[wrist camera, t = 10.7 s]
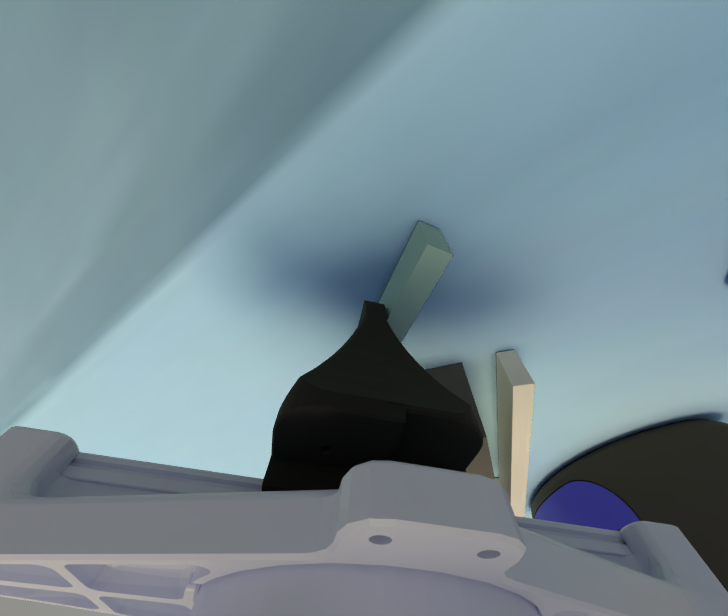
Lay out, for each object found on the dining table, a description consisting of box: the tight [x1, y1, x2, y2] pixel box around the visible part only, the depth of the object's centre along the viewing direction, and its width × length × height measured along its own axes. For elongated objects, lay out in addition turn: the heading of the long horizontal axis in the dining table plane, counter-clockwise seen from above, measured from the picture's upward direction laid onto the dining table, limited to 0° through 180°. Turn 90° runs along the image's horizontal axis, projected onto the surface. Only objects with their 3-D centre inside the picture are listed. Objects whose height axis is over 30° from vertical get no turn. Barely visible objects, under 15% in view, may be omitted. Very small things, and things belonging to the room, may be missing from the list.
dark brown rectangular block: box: [425, 363, 495, 480], centre depth 18 cm, size 4×12×5 cm, turn 20°
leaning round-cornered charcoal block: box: [531, 420, 728, 592], centre depth 17 cm, size 16×5×9 cm, turn 155°
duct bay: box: [495, 350, 535, 517], centre depth 19 cm, size 9×15×2 cm, turn 15°
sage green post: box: [379, 221, 453, 342], centre depth 13 cm, size 10×1×3 cm, turn 159°
